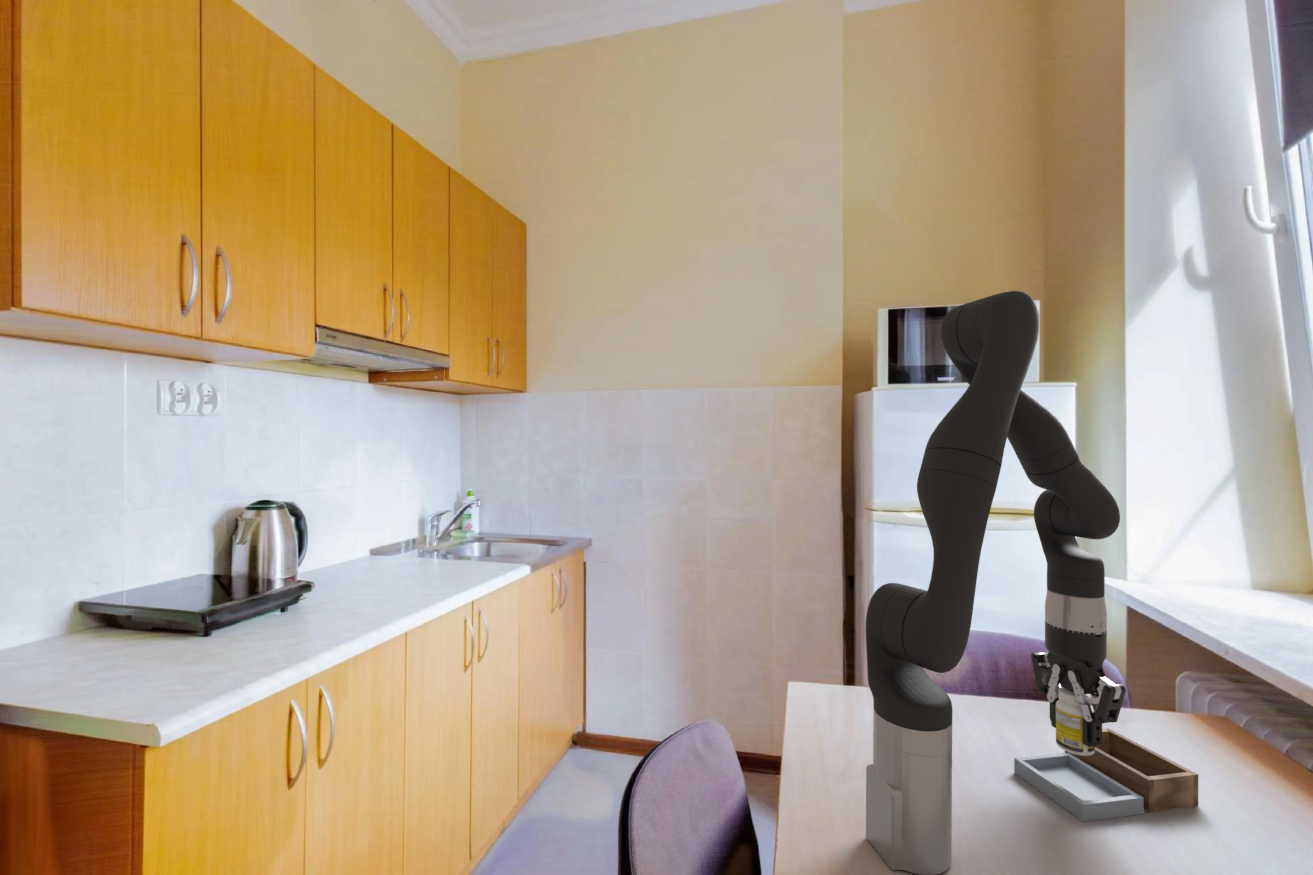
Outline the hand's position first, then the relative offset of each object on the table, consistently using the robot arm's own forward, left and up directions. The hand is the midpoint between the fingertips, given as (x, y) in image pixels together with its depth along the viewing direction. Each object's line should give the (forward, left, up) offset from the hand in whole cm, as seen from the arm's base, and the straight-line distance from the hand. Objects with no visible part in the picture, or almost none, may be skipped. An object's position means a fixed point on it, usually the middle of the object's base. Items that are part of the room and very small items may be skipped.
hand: (1074, 735), depth 86 cm
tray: (0, 0, -8) cm, 8 cm away
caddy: (+10, +1, -8) cm, 13 cm away
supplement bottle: (0, 0, -2) cm, 2 cm away
